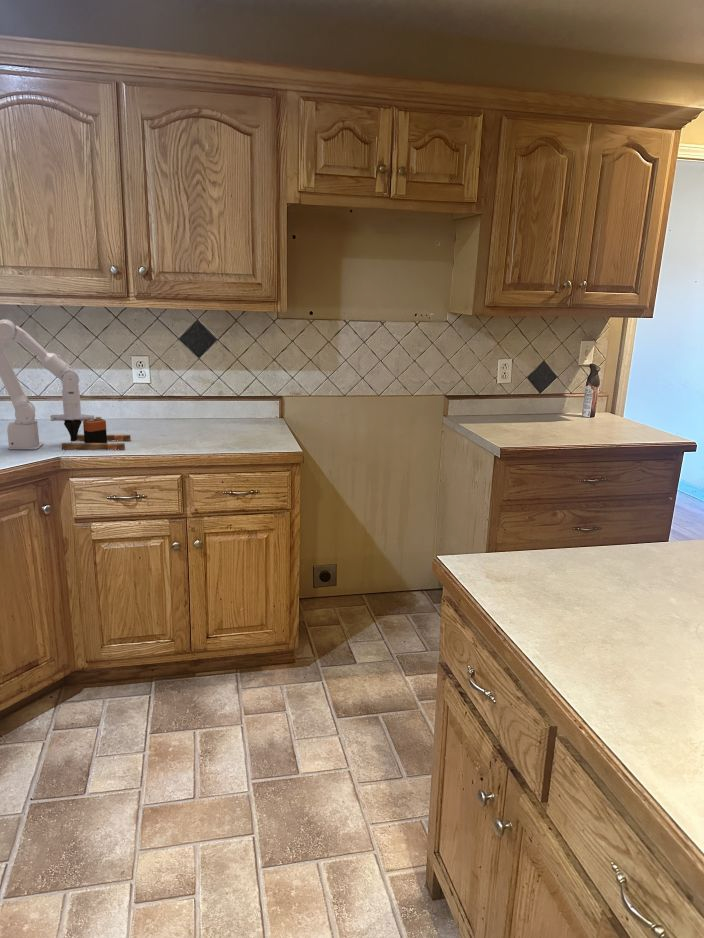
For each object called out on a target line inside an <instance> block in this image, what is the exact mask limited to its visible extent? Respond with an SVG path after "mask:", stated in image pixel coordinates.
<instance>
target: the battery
mask: <svg viewBox="0 0 704 938" xmlns="http://www.w3.org/2000/svg"><path fill="white" fill-rule="evenodd" d="M94 419H95V420H94V421H93V420H92V419H88V420H85V421H82V424H83V425H82V426H83V434H84V441H83V443H108V441H107V435H108V434H107V420H106V419H102V416H94Z"/></svg>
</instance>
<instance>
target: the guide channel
mask: <svg viewBox="0 0 704 938" xmlns="http://www.w3.org/2000/svg"><path fill="white" fill-rule="evenodd" d="M69 437H70V436H69ZM77 440H80V441H79V442H73V441H72V440H71V437H70V442H62V443H61V450H63V449H64V450H65V451H88V450H89V449H92V450H91V451H94V450H93V449H106V450H105V451H111V450H110V449H113V450H112V451H125V449H126V447H125V445H126V444H125V443H123V442H131V434H107V440H116V441H115V443H114V442H107V443H84V433H81V434H79V433H78V434H77ZM117 440H118V441H117ZM118 442H120V443H118ZM74 449H76V450H74ZM108 449H109V450H108ZM115 449H116V450H115ZM118 449H119V450H118ZM64 450H63V451H64ZM89 451H90V450H89Z"/></svg>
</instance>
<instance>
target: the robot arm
mask: <svg viewBox="0 0 704 938" xmlns="http://www.w3.org/2000/svg"><path fill="white" fill-rule="evenodd" d="M12 339H13V342H14V343H15V342H16V343H19V344H21V345H24V346H25V347H27V349H29V351H30V352H32V353H33V354H35V355H36V356H37V357H38V358H40V360H41V365H42V366H43V367H44V368H45V369H47V370H48V371H49V372H50V373H51V374H52V375H53V376H55V378H58V379H60V381H61V382H60V383H61V384H62V391H61V395H62V408H63V413H62V414H60V413H59V414H51V415H50V421H51V422H55V421H59V422H60V421H61V422H63V421H64V422H63V425H64V426H65V427H64V428H66V430H67V431H68V434H69V437H71V438H70V441H71V440H72V441H71V442H77V441H76V440H77V434H79V430H80V428H81V424H83V421H85V420H88V419H92V420H93V421H94V420H95V419H96V418H95V414H82V412H81V411H82V410H81V409H82V408H81V395H80V390H79V388H80V386H79V383H80V378H79V374H78V372H77V371H76V370H75V369H74V368H72V365H70V364H69V365H68V363H66V362H65V361H64V360H63V359H62V357H61V355H60V354H56V352H55V353H54V352H49V351H47V350H46V349H45V348H43V346H41V345H40V344H39V343H38V341H36V340H35V339H34V338H33V337H32V336H31V335H30V334H29V333H28V332H27V331H25V330H24V329H22V328H21V327H20V326H19V325H15V323H14V322H13V321H12V320H10V319H7V318H2V319H0V379H1V381H2V383H3V386H4V387H5V389H6V392H7V394H8V395H9V398H10V400H11V403H12V407H13V408H14V416H15V420H14V421H12V422H8V424H7V430H6V431H7V439H8V440H7V441H8V450H38V449H40V447H42V446H43V444H44V442H40V437H39V436H40V435H39V424H38V423H39V422H38V419H36V407H35V405H34V404H33V403H32V402H30V400H29V398H28V397H27V395H26V394H25V391H24V390H23V388H22V386H21V383H20V381H19V379H18V377H17V374H16V373H15V370H14V368H13V366H12V364H11V362H10V360H9V358H8V356H7V354H6V352H5V349H6V347H7V346H8V345H7V344H8V343H9V342H10V341H11V340H12Z"/></svg>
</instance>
